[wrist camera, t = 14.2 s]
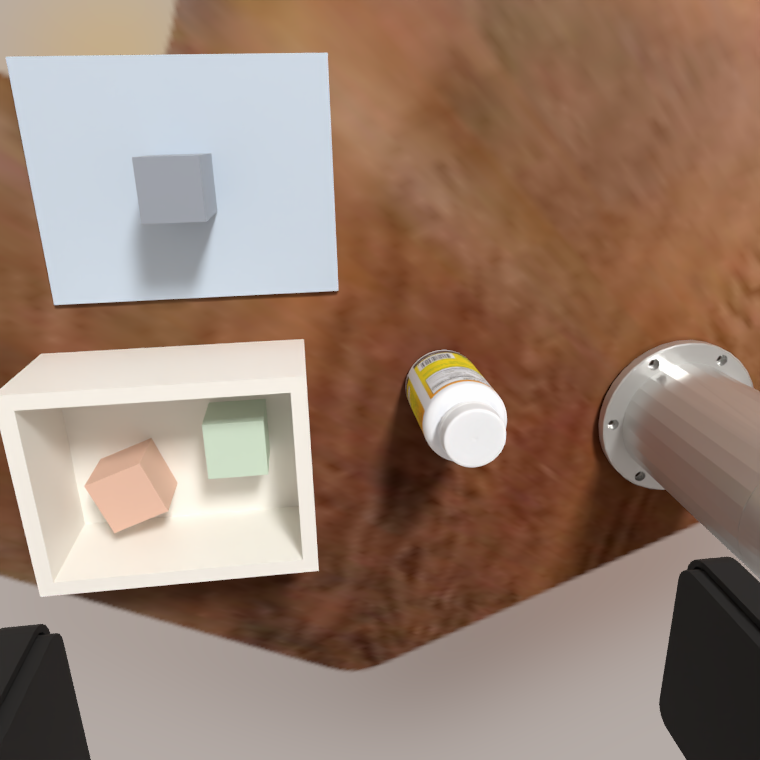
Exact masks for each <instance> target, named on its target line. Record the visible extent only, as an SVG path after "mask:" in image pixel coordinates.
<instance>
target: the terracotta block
mask: <svg viewBox="0 0 760 760" xmlns="http://www.w3.org/2000/svg"><path fill="white" fill-rule="evenodd" d="M176 486H177V481H176V479H175V477H174V476H173V474H172V472H171V471H170V469H169V467H168V465H167V464H166V462H165V460H164V459H163V457H162V455H161V453H160V452H159V450H158V448H157V447H156V445H155V443H154V441H153V440H152V438H150V439H148V440H145V441H143V442H141V443H138V444H136V445H133V446H131V447H129V448H126V449H124V450H121V451H119V452H116V453H114V454H112V455H109V456H107V457H104V458H102V459H100V461H99V462H98V464H97V466H96V467H95V469H94V471H93V472H92V474H91V476H90V477H89V479H88V481H87V482H86V484H85V486H84V487H85V488H86V490H87V491H88V493H89V495H90V496H91V498H92V499H93V501H94V502H95V504H96V505H97V507H98V508H99V510H100V511H101V513H102V515H103V516H104V518H105V519H106V521H107V522H108V524H109V525H110V527H111V528H112V530H113V532H114V533H116V532H119V531H121V530H124V529H126V528H128V527H131V526H133V525H136V524H138V523H141V522H143V521H145V520H148V519H150V518H153V517H155V516H158V515H160V514H163V513H165V512H167V511H169V508H170V505H171V502H172V498H173V495H174V492H175V489H176Z"/></svg>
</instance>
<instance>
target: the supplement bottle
mask: <svg viewBox="0 0 760 760" xmlns="http://www.w3.org/2000/svg"><path fill="white" fill-rule="evenodd" d="M405 389H406V396H407V399H408V402H409V404H410V406H411V408H412V410H413V413H414V415H415V417H416V419H417V421H418V423H419V426H420V428H421V430H422V432H423V434H424V437H425V439H426V441H427V443H428V444H429V446H430V447H431V448H432V450H433V451H434V452H435V453H437V454H438V455H439V456H441V457H443V458H445V459H447V460H450V461H454V462H455V463H457V464H459V465H461V466H464V467H479V466H483V465H485V464H488V463H489V462H491V461H492V460H494V459H495V458H496V457H497V456H498V455H499V454H500V452H501V451H502V449H503V447H504V445H505V441H506V425H507V413H506V409H505V406H504V403H503V401H502V400H501V398H500V397H499V395H498V394H497V393H496V392H495V391H494V389H493V388H492V387H491V386H490V385H489V383H488V382H487V381H486V380H485V379H484V377H483V376H482V375H481V374H480V373H479V371H478V370H477V369H476V368H475V367H474V365H473V364H472V363H471V362H470V361H469V360H468V359H467V358H466V357H465V356H463V355H461V354H459V353H457V352H454V351H450V350H438V351H433V352H430V353H428V354H426V355H424V356H422V357H421V358H420V359H419V360H417V361H416V362H415V364H414V365H413V366H412V367H411V369H410V371H409V373H408V375H407V379H406V385H405Z"/></svg>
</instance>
